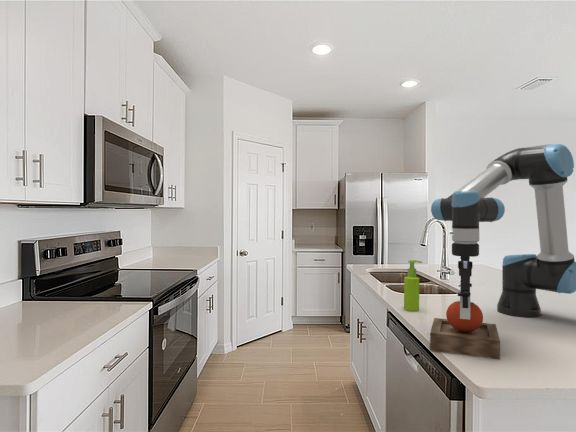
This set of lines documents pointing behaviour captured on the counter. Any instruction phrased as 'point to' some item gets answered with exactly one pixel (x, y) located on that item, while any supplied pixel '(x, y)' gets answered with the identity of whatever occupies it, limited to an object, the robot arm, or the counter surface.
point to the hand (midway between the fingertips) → (465, 313)
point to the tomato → (464, 324)
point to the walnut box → (465, 340)
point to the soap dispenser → (411, 289)
